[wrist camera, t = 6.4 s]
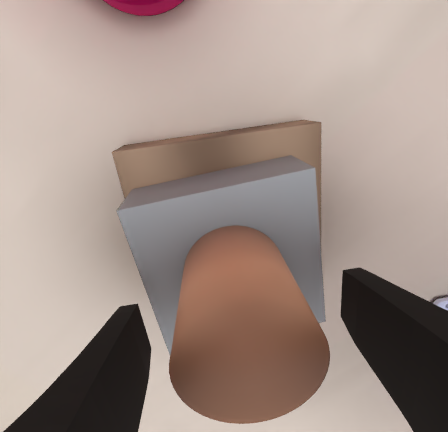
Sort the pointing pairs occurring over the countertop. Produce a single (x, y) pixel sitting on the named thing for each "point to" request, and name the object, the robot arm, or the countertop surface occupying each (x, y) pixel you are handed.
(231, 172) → the tower top
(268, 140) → the tower base
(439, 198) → the countertop surface
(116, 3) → the pepper mill
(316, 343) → the cylinder
